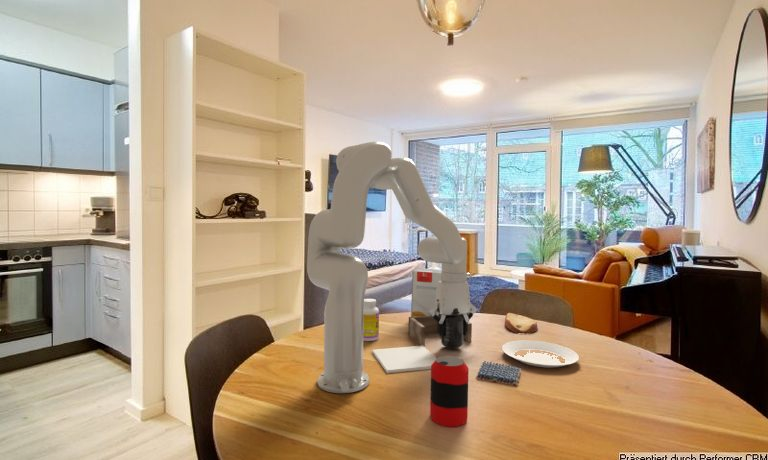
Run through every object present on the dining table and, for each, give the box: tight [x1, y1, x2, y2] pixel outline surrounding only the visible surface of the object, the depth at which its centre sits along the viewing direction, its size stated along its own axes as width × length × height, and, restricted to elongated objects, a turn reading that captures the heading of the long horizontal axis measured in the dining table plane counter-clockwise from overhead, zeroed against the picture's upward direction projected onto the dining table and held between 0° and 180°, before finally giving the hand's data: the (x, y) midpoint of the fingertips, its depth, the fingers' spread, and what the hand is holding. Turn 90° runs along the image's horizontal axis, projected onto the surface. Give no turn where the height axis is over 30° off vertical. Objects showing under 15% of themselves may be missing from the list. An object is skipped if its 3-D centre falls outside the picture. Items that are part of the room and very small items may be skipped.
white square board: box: [371, 345, 438, 374], centre depth 116 cm, size 16×16×1 cm
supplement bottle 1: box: [363, 298, 380, 342], centre depth 134 cm, size 7×7×13 cm
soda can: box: [429, 355, 470, 428], centre depth 84 cm, size 8×8×12 cm
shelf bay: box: [408, 315, 473, 347], centre depth 136 cm, size 12×17×6 cm
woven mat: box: [475, 360, 522, 387], centre depth 106 cm, size 10×11×2 cm
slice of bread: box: [504, 312, 539, 334], centre depth 153 cm, size 18×18×4 cm
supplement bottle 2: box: [440, 308, 464, 349], centre depth 126 cm, size 7×7×12 cm
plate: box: [501, 339, 580, 369], centre depth 119 cm, size 21×21×2 cm
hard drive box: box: [410, 268, 442, 317], centre depth 154 cm, size 16×8×20 cm, turn 73°
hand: (452, 334), depth 126 cm, fingers closed on supplement bottle 2, 6 cm apart
